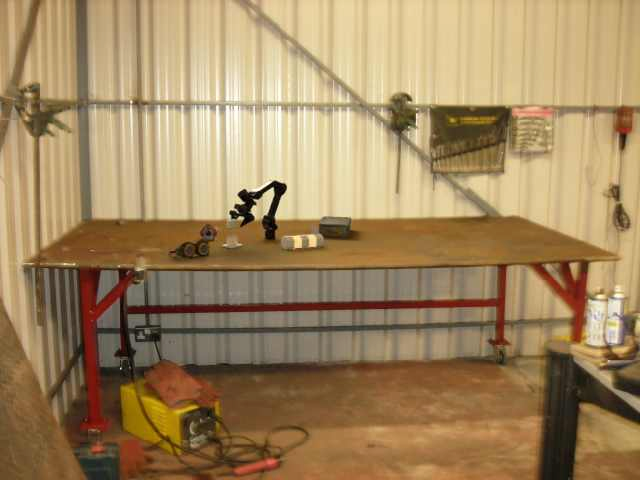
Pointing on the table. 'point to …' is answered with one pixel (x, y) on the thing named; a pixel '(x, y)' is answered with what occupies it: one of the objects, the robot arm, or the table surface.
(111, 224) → the table surface
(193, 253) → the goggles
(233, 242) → the cream stepped block
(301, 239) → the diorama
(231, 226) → the pale green block
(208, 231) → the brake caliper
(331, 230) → the metal box
